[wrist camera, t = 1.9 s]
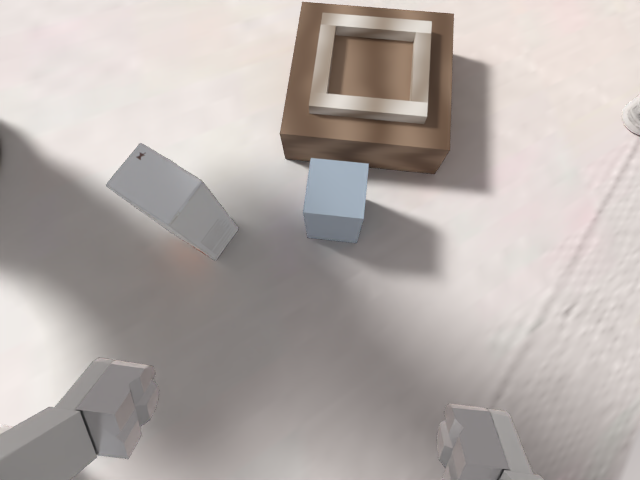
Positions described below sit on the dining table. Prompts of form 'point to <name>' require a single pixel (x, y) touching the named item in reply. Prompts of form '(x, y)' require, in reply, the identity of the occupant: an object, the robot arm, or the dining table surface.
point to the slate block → (335, 199)
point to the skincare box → (174, 200)
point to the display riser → (370, 87)
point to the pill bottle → (632, 115)
